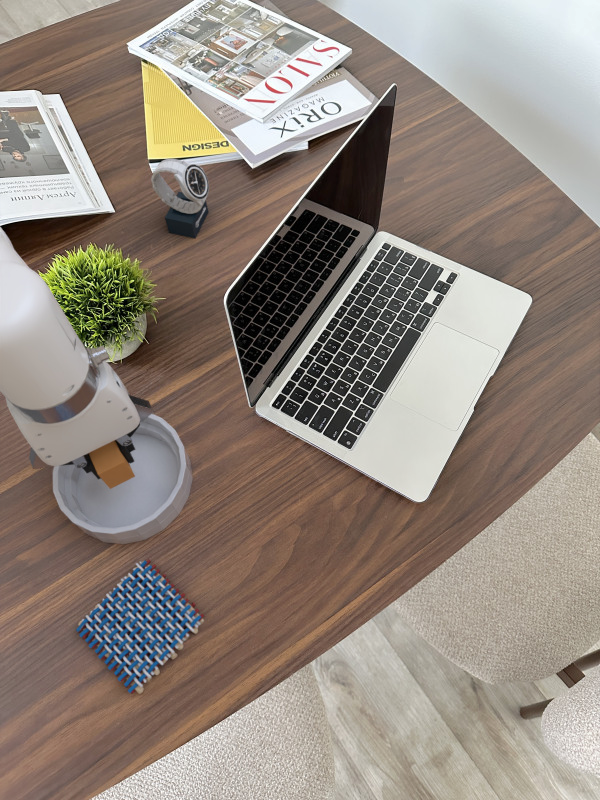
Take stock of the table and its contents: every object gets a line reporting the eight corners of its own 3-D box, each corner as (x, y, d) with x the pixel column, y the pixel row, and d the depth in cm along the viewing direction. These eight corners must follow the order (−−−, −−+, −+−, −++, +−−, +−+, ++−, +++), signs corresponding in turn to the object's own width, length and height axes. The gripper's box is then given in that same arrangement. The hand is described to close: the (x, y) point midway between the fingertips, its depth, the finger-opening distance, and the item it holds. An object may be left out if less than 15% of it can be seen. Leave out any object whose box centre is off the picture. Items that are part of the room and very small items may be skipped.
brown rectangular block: (110, 489, 69) (97, 475, 65) (85, 434, 72) (72, 417, 68) (135, 476, 70) (124, 461, 66) (110, 423, 73) (98, 405, 69)
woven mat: (211, 620, 69) (208, 617, 67) (137, 699, 65) (132, 698, 64) (148, 556, 72) (144, 552, 71) (75, 628, 69) (69, 625, 67)
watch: (207, 241, 94) (194, 184, 85) (158, 230, 96) (140, 173, 86) (220, 214, 97) (209, 156, 87) (172, 204, 98) (156, 146, 88)
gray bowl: (94, 569, 72) (79, 558, 67) (51, 462, 78) (35, 446, 74) (213, 505, 75) (207, 491, 71) (162, 407, 81) (154, 388, 77)
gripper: (124, 310, 58) (165, 402, 74) (-53, 388, 54) (31, 466, 70) (156, 372, 55) (192, 453, 71) (-29, 459, 51) (53, 523, 67)
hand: (111, 459), depth 70 cm, fingers closed on brown rectangular block, 3 cm apart
